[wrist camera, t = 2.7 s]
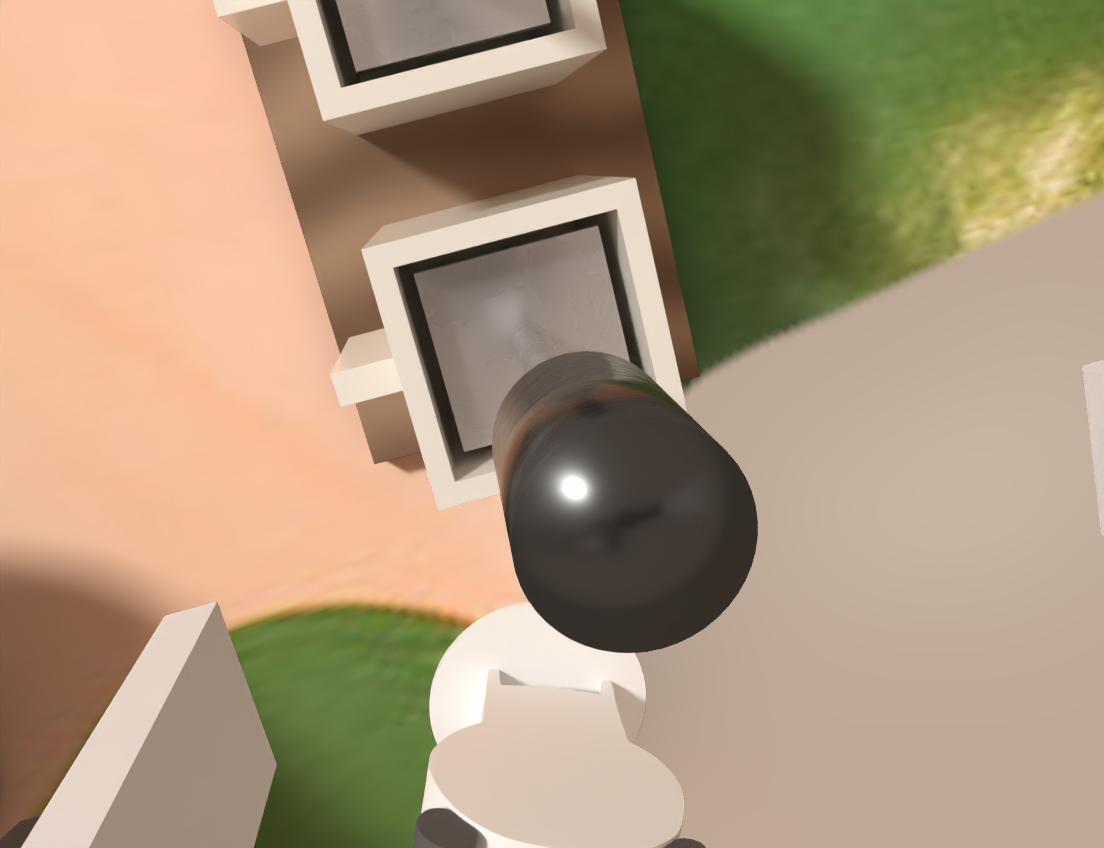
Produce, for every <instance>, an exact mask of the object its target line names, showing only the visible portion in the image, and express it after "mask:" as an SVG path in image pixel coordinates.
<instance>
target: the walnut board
mask: <svg viewBox="0 0 1104 848" xmlns="http://www.w3.org/2000/svg"><path fill="white" fill-rule="evenodd" d="M596 2H597V7H598V11H599V16H600V20H601V25H602V29H603V34H604V38H605V43H606V47H607V49H606V50H604V51H603V52H601V53H600V54H599V55H597V56H596V57H594V58H593V59H591V60H590V61H589V62H587V63H586V64H584V65H583V66H582V67H580V68H579V69H577V70H576V71H574V72H573V73H572V74H570V75H569V76H567V77H566V78H565V79H563V80H562V81H560V82H559V83H557V84H555V85H552V86H548V87H544V88H540V89H536V90H532V91H528V92H524V93H520V94H516V95H513V96H509V97H505V98H501V99H497V100H493V101H489V102H485V103H481V104H477V105H474V106H470V107H466V108H462V109H458V110H454V111H450V112H446V113H442V114H438V115H435V116H431V117H427V118H423V119H419V120H415V121H411V122H407V123H403V124H399V125H396V126H392V127H388V128H384V129H380V130H376V131H372V132H368V133H364V134H361V135H355V134H353V133H350V132H348V131H346V130H343V129H341V128H338V127H336V126H333V125H331V124H329V123H326V122H324V121H323V119H322V116H321V113H320V109H319V106H318V102H317V99H316V96H315V92H314V89H313V85H312V82H311V79H310V75H309V72H308V69H307V65H306V62H305V58H304V55H303V52H302V48H301V45H300V42H299V38H298V37H295V38H291V39H287V40H283V41H279V42H275V43H271V44H267V45H263V46H259V45H258V44H256V43H255V42H253V41H252V40H250V39H249V38H247V37H246V36H245V35H243V34H242V33H241V35H242V38H243V41H244V44H245V48H246V51H247V54H248V57H249V61H250V64H251V67H252V70H253V73H254V77H255V80H256V83H257V86H258V90H259V93H260V96H261V99H262V103H263V106H264V109H265V112H266V115H267V119H268V122H269V125H270V128H271V132H272V135H273V138H274V141H275V145H276V148H277V151H278V154H279V157H280V161H281V164H282V167H283V170H284V174H285V177H286V180H287V183H288V187H289V190H290V193H291V196H292V199H293V203H294V206H295V209H296V212H297V216H298V219H299V222H300V225H301V229H302V232H303V235H304V238H305V241H306V245H307V248H308V251H309V254H310V258H311V261H312V264H313V267H314V271H315V274H316V277H317V280H318V283H319V287H320V290H321V293H322V296H323V300H324V303H325V306H326V309H327V313H328V316H329V319H330V322H331V325H332V329H333V332H334V335H335V338H336V342H337V345H338V348H339V351H340V354H341V352H342V350H343V348H344V347H345V345H346V343H347V341H348V339H349V337H353V336H357V335H360V334H364V333H368V332H372V331H375V330H379V329H383V328H384V325H383V322H382V319H381V315H380V312H379V308H378V305H377V302H376V298H375V295H374V292H373V288H372V285H371V281H370V278H369V275H368V271H367V268H366V265H365V261H364V258H363V254H362V251H361V249H362V248H363V247H364V246H365V245H366V244H367V243H368V242H369V240H370V239H371V238H372V237H373V236H374V235H375V234H376V233H377V232H378V231H379V230H380V229H381V228H382V227H383V226H384V225H388V224H392V223H396V222H400V221H403V220H407V219H411V218H415V217H419V216H423V215H426V214H430V213H434V212H438V211H442V210H446V209H449V208H453V207H457V206H461V205H465V204H469V203H472V202H476V201H480V200H484V199H488V198H492V197H495V196H499V195H503V194H507V193H511V192H515V191H518V190H522V189H526V188H530V187H534V186H538V185H541V184H545V183H549V182H553V181H557V180H561V179H565V178H568V177H572V176H576V175H587V176H608V177H629V178H636V182H637V187H638V191H639V196H640V200H641V205H642V209H643V214H644V218H645V223H646V227H647V232H648V236H649V241H650V245H651V250H652V254H653V259H654V263H655V268H656V272H657V277H658V282H659V286H660V291H661V295H662V300H663V304H664V309H665V313H666V318H667V322H668V327H669V331H670V336H671V340H672V345H673V349H674V354H675V358H676V363H677V367H678V372H679V376H680V381H684V380H688V379H691V378H695V377H699V376H700V373H699V368H698V364H697V359H696V354H695V350H694V345H693V341H692V336H691V331H690V327H689V322H688V317H687V313H686V308H685V304H684V299H683V294H682V290H681V285H680V280H679V276H678V271H677V267H676V262H675V257H674V253H673V248H672V243H671V239H670V234H669V230H668V225H667V220H666V216H665V211H664V207H663V202H662V197H661V193H660V188H659V183H658V179H657V174H656V170H655V165H654V160H653V156H652V151H651V146H650V142H649V137H648V133H647V128H646V123H645V119H644V114H643V109H642V105H641V100H640V96H639V91H638V86H637V82H636V77H635V72H634V68H633V63H632V59H631V54H630V49H629V45H628V40H627V36H626V31H625V26H624V22H623V17H622V12H621V8H620V3H619V0H596ZM356 406H357V409H358V413H359V416H360V419H361V422H362V426H363V429H364V432H365V435H366V439H367V442H368V445H369V448H370V451H371V455H372V458H373V461H374V464H377V463H381V462H385V461H388V460H392V459H396V458H399V457H403V456H407V455H411V454H414V453H418V452H421V450H420V447H419V444H418V440H417V437H416V433H415V430H414V427H413V423H412V420H411V417H410V413H409V410H408V406H407V403H406V400H405V396H404V393H403V391H399V392H395V393H392V394H388V395H384V396H381V397H377V398H373V399H369V400H366V401H362V402H358V403H356Z"/></svg>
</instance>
